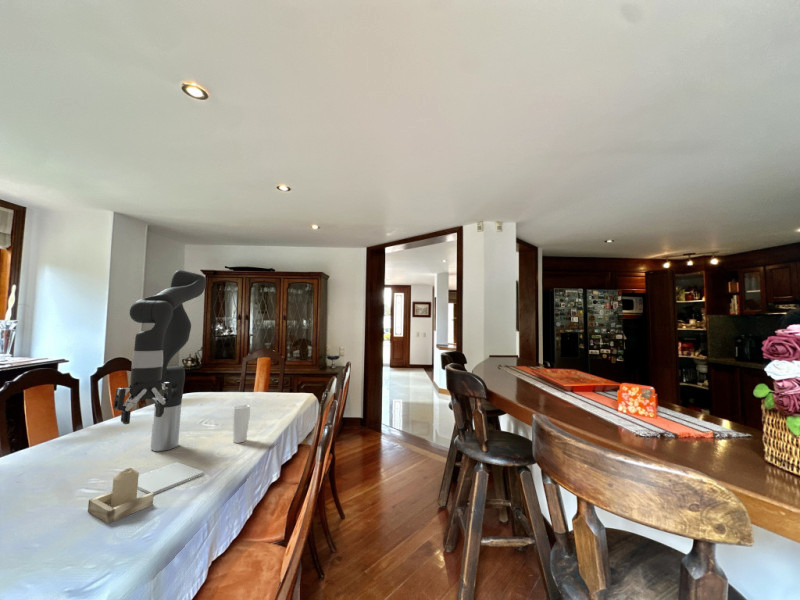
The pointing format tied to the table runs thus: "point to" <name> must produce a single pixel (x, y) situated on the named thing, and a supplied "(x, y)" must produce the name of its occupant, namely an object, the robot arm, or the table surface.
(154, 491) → the plate
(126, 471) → the candle
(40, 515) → the table surface
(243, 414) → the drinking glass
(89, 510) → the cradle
